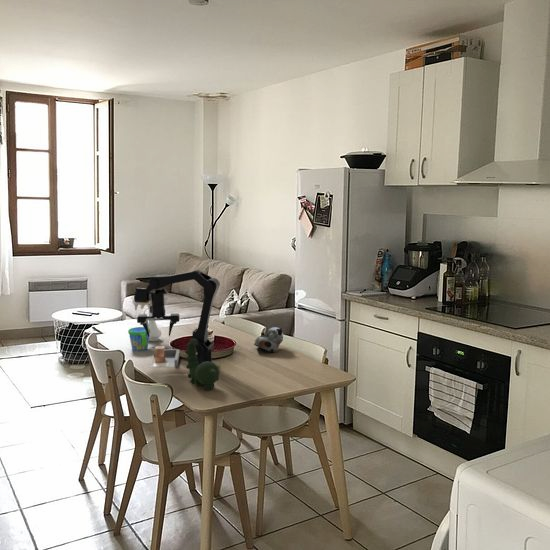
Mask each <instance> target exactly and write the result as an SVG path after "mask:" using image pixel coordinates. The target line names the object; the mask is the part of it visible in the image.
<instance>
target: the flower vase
mask: <svg viewBox="0 0 550 550" xmlns="http://www.w3.org/2000/svg"><path fill="white" fill-rule="evenodd" d="M131 300H132V304H133V305H134V311H135V312H137V310H138V306H140V310H143V309H144V307H145V306H147V309H148V316H152V313H150V306H152V299H151V301H149V302H148V303H136V302H135V301H134V297H131ZM167 301H168V297H166V296H164V305H166V306H169V304H168V303H167ZM148 327H149V328H150V331H151V332H150V337H149V342H157V341H159V340H160V339H159V338H160V337H161V336H162V330H161V329H160V328H159V327H158V325H157V323H156V320H148Z"/></svg>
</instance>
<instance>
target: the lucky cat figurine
mask: <svg viewBox="0 0 550 550" xmlns="http://www.w3.org/2000/svg"><path fill="white" fill-rule="evenodd" d="M260 334H261V335H260V336H257V337H256V339H255V340H254V344H253V345H254V346H255V347H257V348H259V349H263V350H265V351H267V352H270V353H272V354H275V353H277V352H279V346H280V345H281V344H282V342H283V341H284V333H283V328H282V327H276V326H273V327H270V328H269V329H268V330H267V332H266V334H265V332H264V331H261V332H260Z"/></svg>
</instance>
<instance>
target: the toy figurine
mask: <svg viewBox="0 0 550 550" xmlns="http://www.w3.org/2000/svg"><path fill="white" fill-rule="evenodd" d="M195 345H196V346H198V341H197V340H196V339H194V338H193V339H192V338H191V339H190V341H189V342H188V343H187V344H186V345H185V348H186V349H185V351H184V353H185V354H186V355H187V356H186V357H185V359H184V360H185V361H187V364H186V366H185V367H186V369H188V372H189V373H187V377H188V379H190V383H191V382H192V383H191V384H194V385H195V386H199V385H203V387H204V389H205V390H206V389H210V390H213V389H214V388H215V383H216V382H217V381H219V380H220V369H219V367H218V365H217V364H216V363H214V362H213V361H212V362H210V361H205V362H202V363H201V364H199V363H198V361H197V356H196V353H197V351H196V348H195Z"/></svg>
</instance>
